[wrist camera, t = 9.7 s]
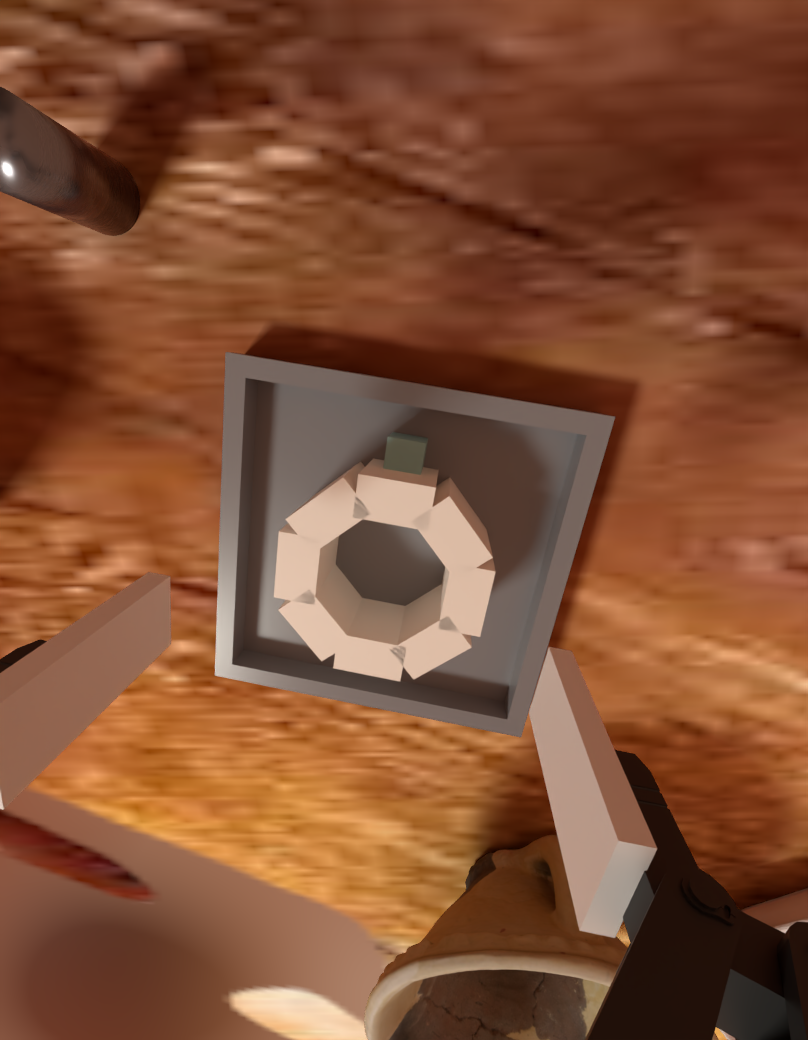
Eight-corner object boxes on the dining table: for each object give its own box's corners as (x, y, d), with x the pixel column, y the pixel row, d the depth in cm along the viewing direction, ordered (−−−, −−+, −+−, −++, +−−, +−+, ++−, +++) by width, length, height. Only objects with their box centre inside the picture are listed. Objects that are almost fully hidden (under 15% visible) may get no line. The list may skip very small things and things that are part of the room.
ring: (295, 616, 27) (269, 655, 23) (313, 418, 23) (286, 426, 19) (464, 648, 26) (466, 694, 23) (509, 452, 23) (520, 466, 19)
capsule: (72, 152, 21) (-51, 78, 16) (138, 161, 21) (35, 90, 16) (77, 230, 22) (-38, 185, 17) (140, 240, 22) (43, 197, 17)
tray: (244, 354, 23) (225, 352, 21) (601, 413, 22) (615, 416, 20) (230, 655, 29) (214, 675, 27) (516, 712, 28) (521, 737, 26)
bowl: (432, 747, 29) (423, 913, 20) (698, 838, 29) (808, 1045, 20) (356, 919, 35) (322, 1111, 26) (580, 996, 35) (625, 1215, 26)
